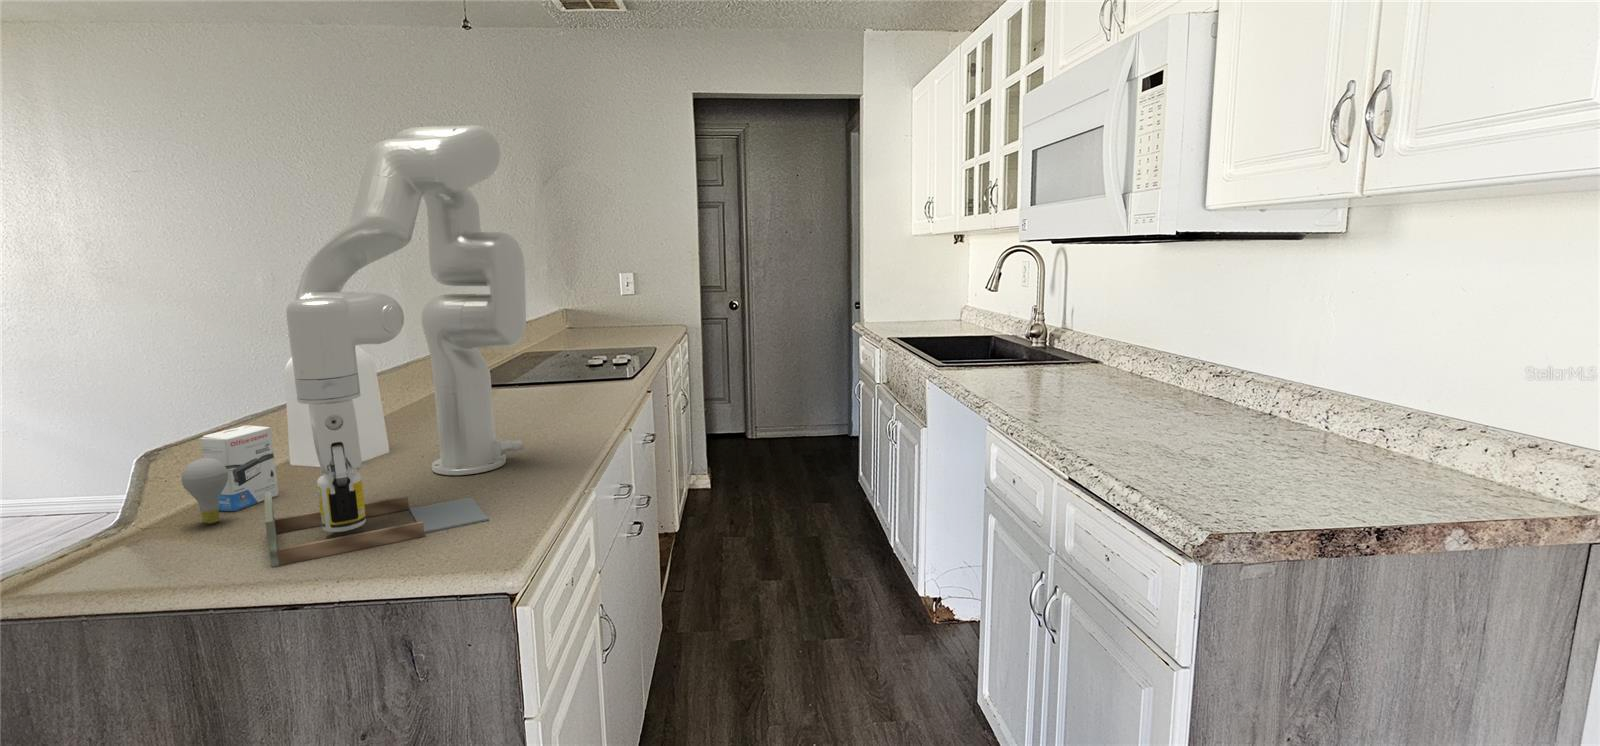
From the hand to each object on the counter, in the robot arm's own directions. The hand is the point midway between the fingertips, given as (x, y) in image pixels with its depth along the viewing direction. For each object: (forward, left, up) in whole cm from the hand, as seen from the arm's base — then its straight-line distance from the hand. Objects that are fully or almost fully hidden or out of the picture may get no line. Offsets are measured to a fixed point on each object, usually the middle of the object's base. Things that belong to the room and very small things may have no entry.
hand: (343, 512), depth 111 cm
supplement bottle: (0, 0, -2) cm, 2 cm away
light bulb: (+16, -17, -3) cm, 23 cm away
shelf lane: (0, 0, -3) cm, 3 cm away
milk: (-3, -47, -3) cm, 47 cm away
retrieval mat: (-14, 0, -3) cm, 14 cm away
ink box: (+12, -26, -3) cm, 29 cm away
